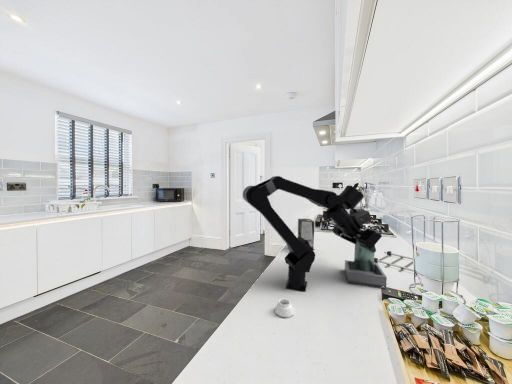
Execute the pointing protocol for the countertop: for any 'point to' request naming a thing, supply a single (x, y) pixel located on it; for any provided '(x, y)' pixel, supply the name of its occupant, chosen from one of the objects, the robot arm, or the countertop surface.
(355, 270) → the tray
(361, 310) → the countertop surface
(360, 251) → the spout can
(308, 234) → the coffee box
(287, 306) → the white jar
